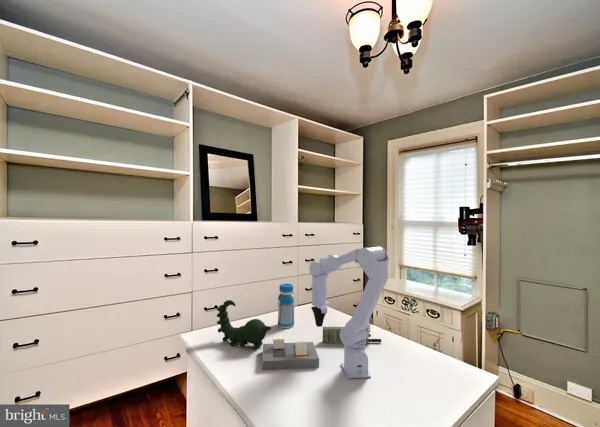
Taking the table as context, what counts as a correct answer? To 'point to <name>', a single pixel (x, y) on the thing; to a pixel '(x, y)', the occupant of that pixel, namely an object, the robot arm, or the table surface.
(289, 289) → the beverage bottle
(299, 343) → the tab
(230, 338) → the toy figurine
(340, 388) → the table surface
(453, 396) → the table surface
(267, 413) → the table surface
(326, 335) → the handheld radio
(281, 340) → the tab
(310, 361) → the switch panel
